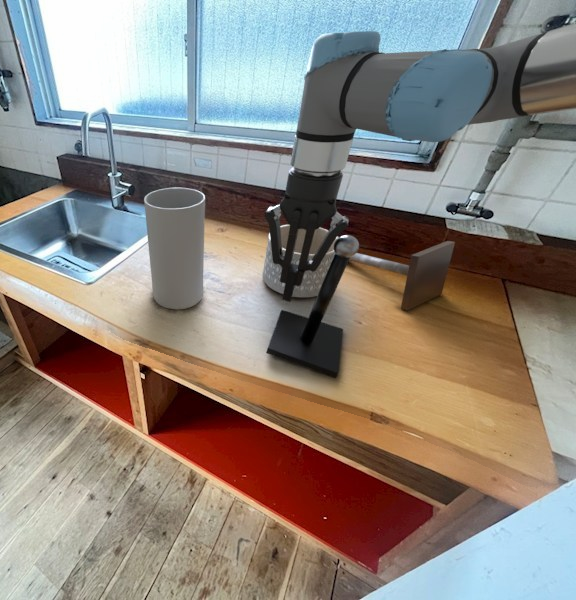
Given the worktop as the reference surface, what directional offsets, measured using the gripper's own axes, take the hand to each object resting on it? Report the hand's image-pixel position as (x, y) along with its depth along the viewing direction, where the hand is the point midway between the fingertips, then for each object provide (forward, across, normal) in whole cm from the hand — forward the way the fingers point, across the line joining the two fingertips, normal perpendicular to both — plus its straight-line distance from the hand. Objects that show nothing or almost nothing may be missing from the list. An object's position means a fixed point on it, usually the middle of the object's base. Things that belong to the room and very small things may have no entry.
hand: (287, 296), depth 61 cm
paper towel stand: (+11, -18, -33) cm, 39 cm away
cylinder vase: (+11, +26, -5) cm, 29 cm away
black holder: (-2, -10, 0) cm, 10 cm away
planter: (+11, +1, -22) cm, 25 cm away
